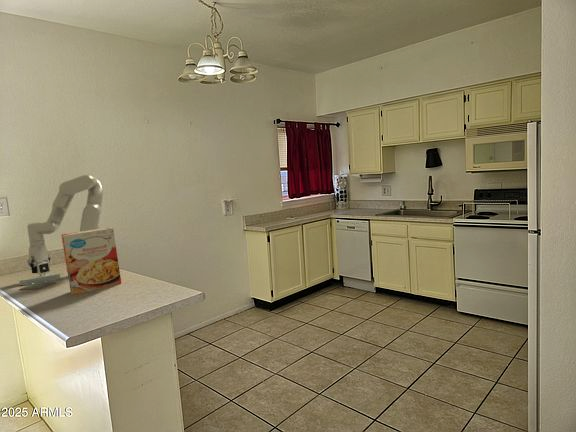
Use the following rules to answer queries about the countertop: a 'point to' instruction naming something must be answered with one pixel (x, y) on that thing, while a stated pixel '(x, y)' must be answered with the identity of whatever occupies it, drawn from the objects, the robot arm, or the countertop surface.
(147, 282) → the countertop surface
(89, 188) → the robot arm
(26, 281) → the low wall
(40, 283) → the mat
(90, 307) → the countertop surface
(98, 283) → the pasta box
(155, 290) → the countertop surface
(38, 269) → the security camera
